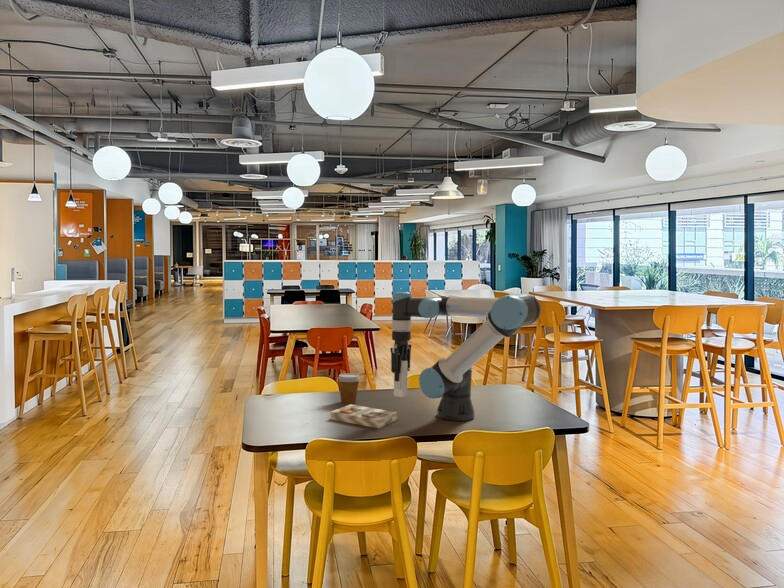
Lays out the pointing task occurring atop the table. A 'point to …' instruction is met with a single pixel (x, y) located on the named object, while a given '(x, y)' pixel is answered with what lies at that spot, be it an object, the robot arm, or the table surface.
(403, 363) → the plug
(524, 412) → the table surface
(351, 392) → the disposable coffee cup
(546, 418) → the table surface
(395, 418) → the socket plate
